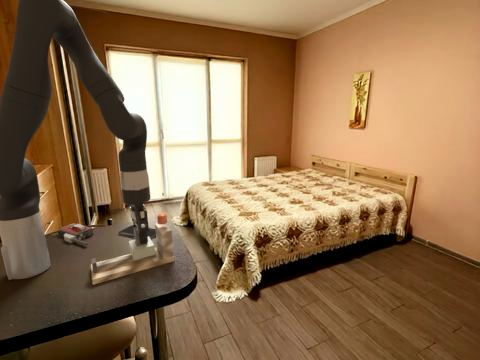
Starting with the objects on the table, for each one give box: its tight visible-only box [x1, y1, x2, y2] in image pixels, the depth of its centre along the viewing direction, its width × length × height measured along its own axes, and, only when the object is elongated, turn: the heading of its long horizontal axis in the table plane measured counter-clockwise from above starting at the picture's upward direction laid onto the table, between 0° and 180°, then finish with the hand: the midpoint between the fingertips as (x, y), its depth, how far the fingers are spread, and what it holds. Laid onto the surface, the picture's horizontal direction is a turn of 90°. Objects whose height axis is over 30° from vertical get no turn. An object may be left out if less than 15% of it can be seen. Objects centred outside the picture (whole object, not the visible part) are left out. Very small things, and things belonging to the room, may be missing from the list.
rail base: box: [90, 222, 175, 285], centre depth 76 cm, size 22×9×10 cm, turn 121°
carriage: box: [128, 224, 156, 260], centre depth 77 cm, size 6×7×8 cm
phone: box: [118, 224, 156, 240], centre depth 98 cm, size 8×1×15 cm
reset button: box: [156, 213, 168, 224], centre depth 79 cm, size 3×3×2 cm
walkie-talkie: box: [57, 223, 94, 246], centre depth 95 cm, size 9×4×20 cm
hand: (140, 237), depth 77 cm, fingers open, 8 cm apart
